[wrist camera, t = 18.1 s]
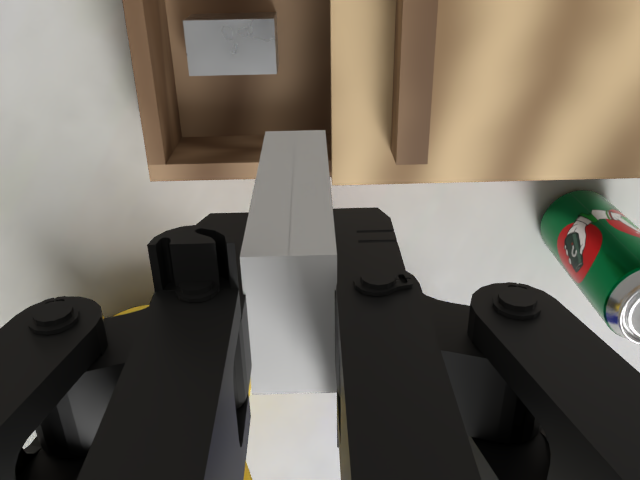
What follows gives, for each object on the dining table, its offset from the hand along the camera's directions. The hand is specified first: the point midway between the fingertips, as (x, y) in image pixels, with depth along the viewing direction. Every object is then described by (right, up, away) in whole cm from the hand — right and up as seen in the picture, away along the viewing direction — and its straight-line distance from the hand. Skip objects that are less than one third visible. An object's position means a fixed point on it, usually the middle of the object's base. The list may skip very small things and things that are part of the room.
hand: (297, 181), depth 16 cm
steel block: (-4, +11, +21) cm, 24 cm away
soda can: (+19, 0, +28) cm, 34 cm away
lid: (+12, +9, +16) cm, 22 cm away
